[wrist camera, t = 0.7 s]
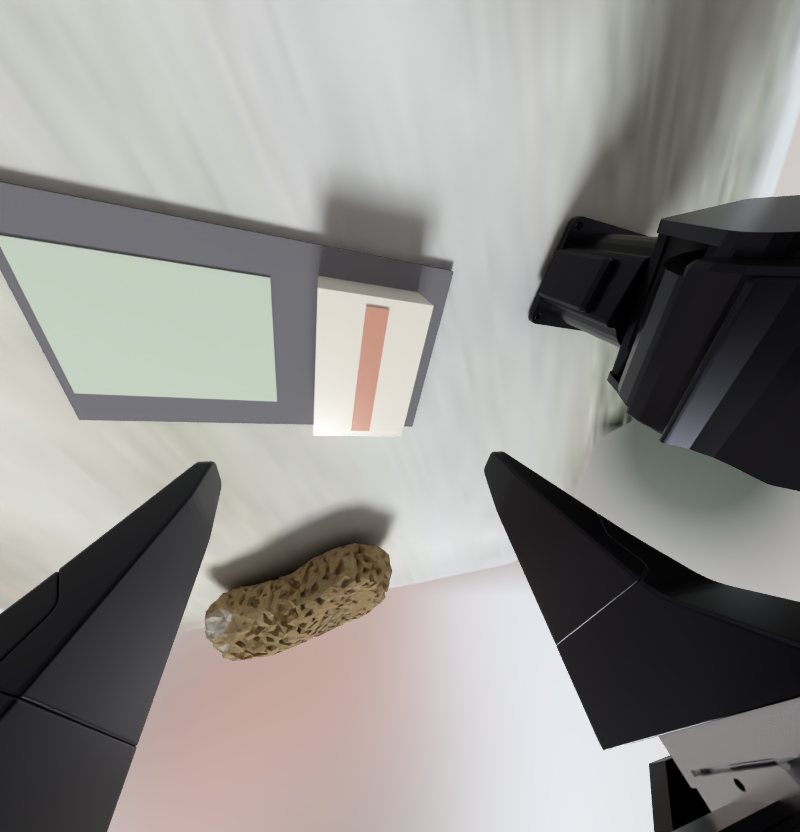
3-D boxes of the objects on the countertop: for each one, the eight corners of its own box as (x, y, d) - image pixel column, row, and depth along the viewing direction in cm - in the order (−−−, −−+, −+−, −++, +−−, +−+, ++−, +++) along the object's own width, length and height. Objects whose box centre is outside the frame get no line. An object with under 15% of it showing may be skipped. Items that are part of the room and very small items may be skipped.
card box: (417, 292, 18) (434, 306, 15) (392, 410, 23) (401, 437, 20) (318, 275, 16) (317, 288, 13) (314, 408, 21) (313, 436, 18)
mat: (451, 270, 18) (454, 271, 17) (411, 423, 24) (412, 427, 24) (-41, 173, 11) (-54, 172, 11) (83, 416, 18) (77, 420, 18)
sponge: (255, 604, 39) (401, 595, 38) (223, 677, 32) (400, 669, 31) (218, 537, 33) (388, 524, 32) (168, 608, 26) (385, 595, 25)
